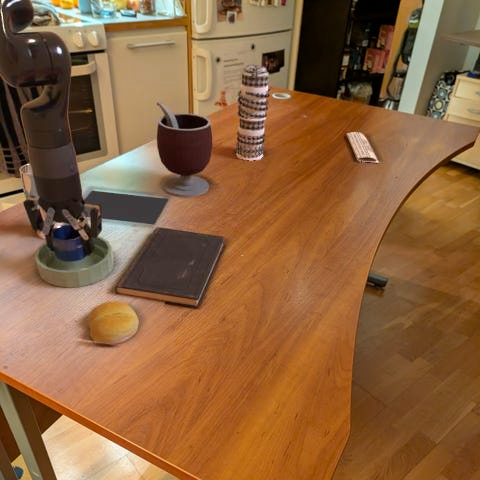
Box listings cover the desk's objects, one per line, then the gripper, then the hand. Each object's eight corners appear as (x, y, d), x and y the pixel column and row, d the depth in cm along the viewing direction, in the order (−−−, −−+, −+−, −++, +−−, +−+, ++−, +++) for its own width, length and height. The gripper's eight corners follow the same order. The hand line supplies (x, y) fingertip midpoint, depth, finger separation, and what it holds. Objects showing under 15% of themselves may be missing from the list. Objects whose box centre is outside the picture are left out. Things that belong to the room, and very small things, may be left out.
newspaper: (346, 136, 163) (347, 131, 162) (366, 138, 163) (367, 132, 162) (356, 161, 145) (358, 156, 144) (379, 163, 145) (380, 157, 144)
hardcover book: (225, 245, 102) (225, 236, 100) (198, 308, 85) (198, 298, 83) (155, 235, 104) (155, 226, 102) (115, 295, 86) (114, 285, 85)
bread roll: (93, 351, 75) (89, 333, 72) (87, 317, 81) (83, 299, 78) (144, 341, 77) (142, 323, 75) (134, 308, 84) (131, 291, 81)
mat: (66, 220, 107) (66, 219, 106) (92, 191, 119) (92, 190, 119) (150, 230, 105) (150, 228, 105) (168, 200, 118) (168, 198, 117)
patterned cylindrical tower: (270, 156, 144) (279, 67, 128) (250, 163, 139) (257, 72, 123) (249, 148, 149) (254, 61, 133) (228, 154, 144) (232, 65, 128)
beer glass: (35, 228, 103) (17, 163, 94) (67, 224, 105) (54, 160, 96) (36, 244, 98) (18, 176, 89) (70, 239, 100) (56, 173, 91)
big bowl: (26, 284, 87) (21, 267, 85) (58, 246, 98) (54, 229, 96) (98, 293, 86) (95, 276, 84) (123, 254, 97) (121, 237, 95)
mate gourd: (221, 186, 126) (224, 108, 113) (189, 203, 117) (188, 121, 104) (178, 171, 132) (175, 96, 119) (144, 186, 123) (137, 107, 110)
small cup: (49, 259, 88) (44, 238, 85) (63, 243, 92) (59, 222, 89) (81, 263, 87) (77, 242, 84) (93, 246, 92) (90, 226, 89)
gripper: (103, 164, 81) (114, 246, 92) (25, 155, 82) (45, 237, 93) (87, 181, 76) (100, 266, 86) (3, 171, 76) (27, 257, 87)
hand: (71, 251), depth 90 cm, fingers closed on small cup, 6 cm apart
